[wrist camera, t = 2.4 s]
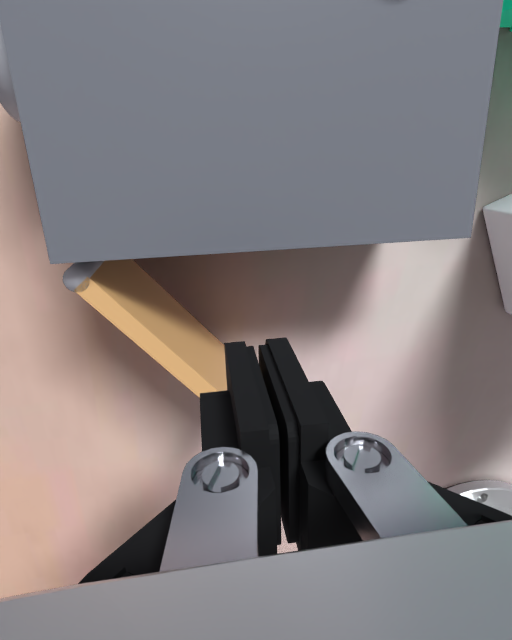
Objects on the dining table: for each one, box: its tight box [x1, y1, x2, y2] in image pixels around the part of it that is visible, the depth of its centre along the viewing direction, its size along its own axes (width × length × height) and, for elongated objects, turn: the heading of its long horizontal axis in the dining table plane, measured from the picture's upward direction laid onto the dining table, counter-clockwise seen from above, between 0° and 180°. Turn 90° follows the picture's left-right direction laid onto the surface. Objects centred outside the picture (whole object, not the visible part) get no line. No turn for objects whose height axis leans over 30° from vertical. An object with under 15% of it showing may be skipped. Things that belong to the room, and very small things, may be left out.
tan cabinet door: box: [63, 259, 227, 398], centre depth 22 cm, size 1×10×6 cm, turn 42°
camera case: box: [0, 0, 503, 264], centre depth 18 cm, size 12×18×9 cm
